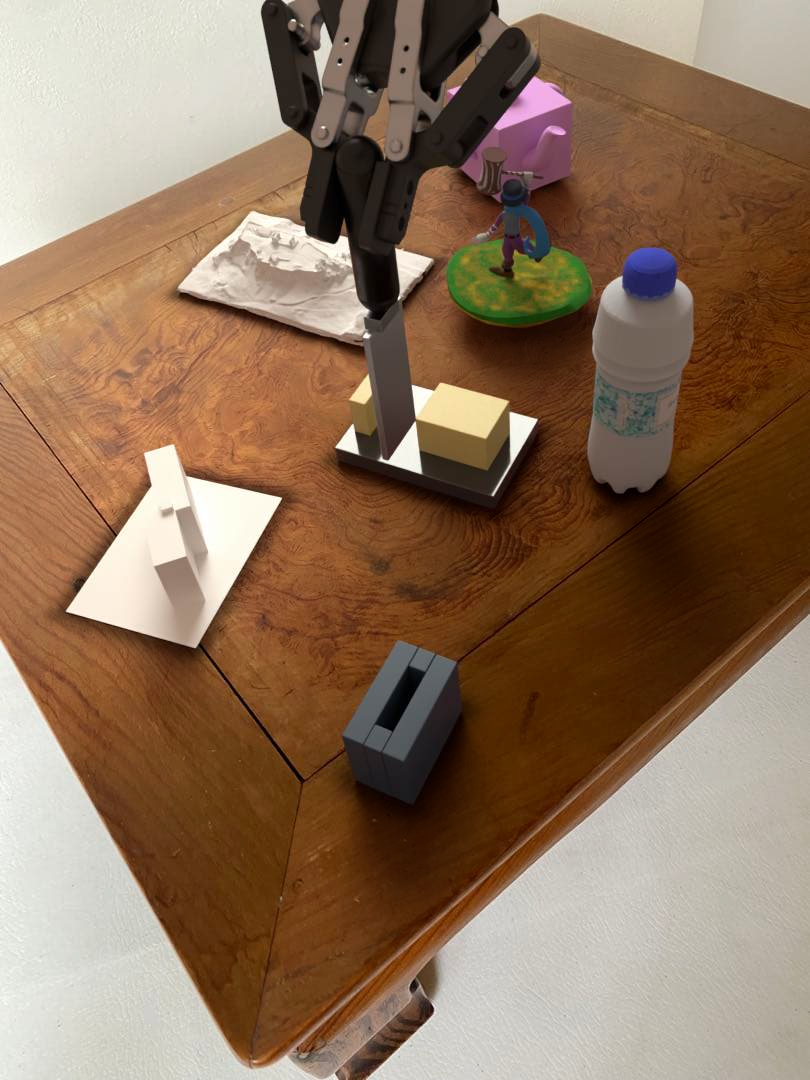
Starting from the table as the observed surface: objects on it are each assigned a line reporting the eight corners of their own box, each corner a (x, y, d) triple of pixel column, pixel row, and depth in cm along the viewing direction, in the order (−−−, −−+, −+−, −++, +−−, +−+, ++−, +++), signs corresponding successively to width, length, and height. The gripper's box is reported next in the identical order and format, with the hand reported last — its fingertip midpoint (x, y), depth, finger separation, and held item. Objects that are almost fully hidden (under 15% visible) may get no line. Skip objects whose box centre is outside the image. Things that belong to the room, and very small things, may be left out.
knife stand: (462, 709, 66) (458, 661, 61) (413, 805, 62) (403, 762, 57) (406, 687, 67) (397, 639, 63) (354, 780, 63) (340, 735, 59)
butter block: (510, 432, 79) (509, 400, 77) (487, 471, 77) (486, 439, 74) (442, 413, 81) (440, 381, 79) (418, 450, 79) (414, 418, 76)
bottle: (659, 512, 75) (695, 295, 59) (573, 492, 77) (585, 278, 61) (679, 450, 78) (717, 231, 63) (595, 433, 80) (612, 217, 65)
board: (538, 432, 81) (538, 419, 80) (494, 509, 76) (493, 496, 75) (387, 390, 86) (385, 377, 85) (337, 460, 81) (334, 447, 80)
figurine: (617, 291, 92) (631, 139, 80) (545, 371, 86) (548, 219, 74) (492, 248, 98) (488, 100, 86) (416, 320, 92) (400, 172, 80)
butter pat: (395, 400, 83) (391, 368, 80) (370, 436, 81) (364, 404, 78) (379, 396, 84) (375, 364, 81) (354, 431, 81) (348, 399, 78)
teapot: (613, 196, 101) (621, 99, 93) (497, 243, 98) (494, 147, 90) (519, 124, 112) (518, 32, 104) (411, 164, 109) (402, 73, 101)
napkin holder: (159, 470, 83) (139, 420, 78) (283, 496, 79) (268, 446, 75) (64, 613, 74) (35, 566, 70) (198, 649, 71) (176, 602, 66)
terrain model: (382, 362, 90) (377, 318, 86) (163, 311, 96) (150, 268, 92) (445, 254, 99) (444, 210, 95) (242, 213, 105) (233, 170, 101)
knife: (430, 424, 59) (397, 121, 44) (402, 465, 57) (358, 163, 42) (397, 414, 59) (354, 114, 45) (368, 455, 57) (314, 155, 43)
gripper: (263, -220, 42) (176, 198, 45) (577, -209, 37) (455, 260, 40) (343, -122, 48) (262, 235, 51) (616, -102, 44) (509, 291, 47)
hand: (347, 244), depth 46 cm, fingers closed on knife, 2 cm apart
